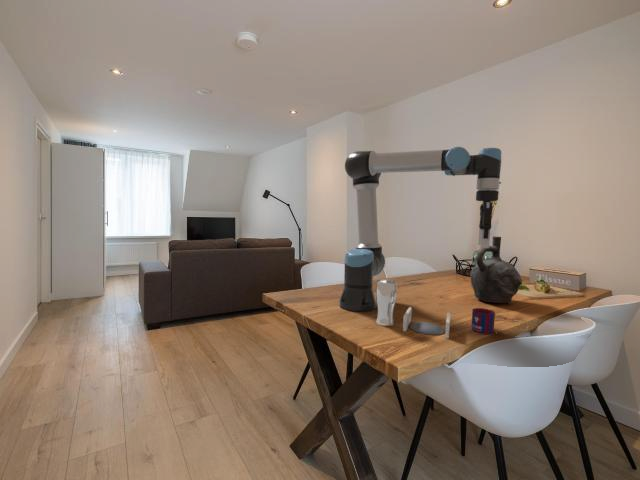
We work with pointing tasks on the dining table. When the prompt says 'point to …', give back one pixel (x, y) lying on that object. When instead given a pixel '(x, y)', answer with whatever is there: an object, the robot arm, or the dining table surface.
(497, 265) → the vessel
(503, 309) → the dining table surface
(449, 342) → the dining table surface
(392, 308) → the beer glass
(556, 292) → the cutting board
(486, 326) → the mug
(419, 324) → the slate coaster
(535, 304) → the dining table surface
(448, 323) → the low walls
